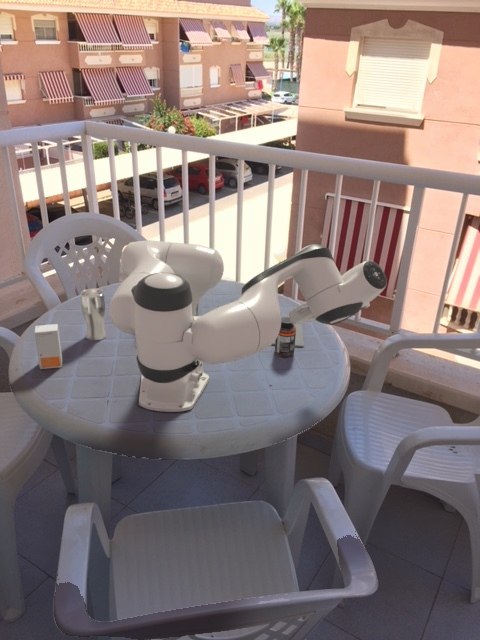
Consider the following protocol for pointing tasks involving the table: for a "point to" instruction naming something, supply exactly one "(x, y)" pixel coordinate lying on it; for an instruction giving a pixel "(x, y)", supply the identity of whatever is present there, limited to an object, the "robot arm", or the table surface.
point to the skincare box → (48, 346)
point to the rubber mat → (298, 336)
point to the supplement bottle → (285, 338)
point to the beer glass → (94, 313)
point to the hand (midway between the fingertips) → (312, 318)
